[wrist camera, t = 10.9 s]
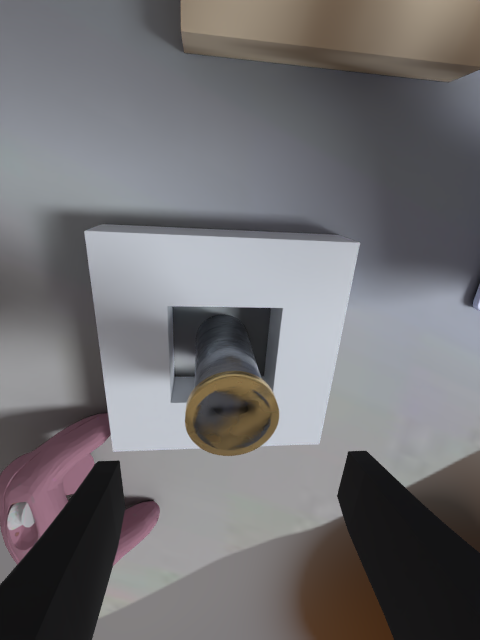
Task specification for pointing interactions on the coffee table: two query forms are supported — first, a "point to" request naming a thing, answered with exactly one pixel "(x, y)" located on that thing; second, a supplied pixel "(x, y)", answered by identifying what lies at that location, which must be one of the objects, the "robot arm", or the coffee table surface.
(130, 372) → the dock
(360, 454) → the robot arm
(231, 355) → the lock pin
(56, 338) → the coffee table surface
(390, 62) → the pin mount
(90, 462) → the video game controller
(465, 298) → the coffee table surface
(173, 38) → the coffee table surface
